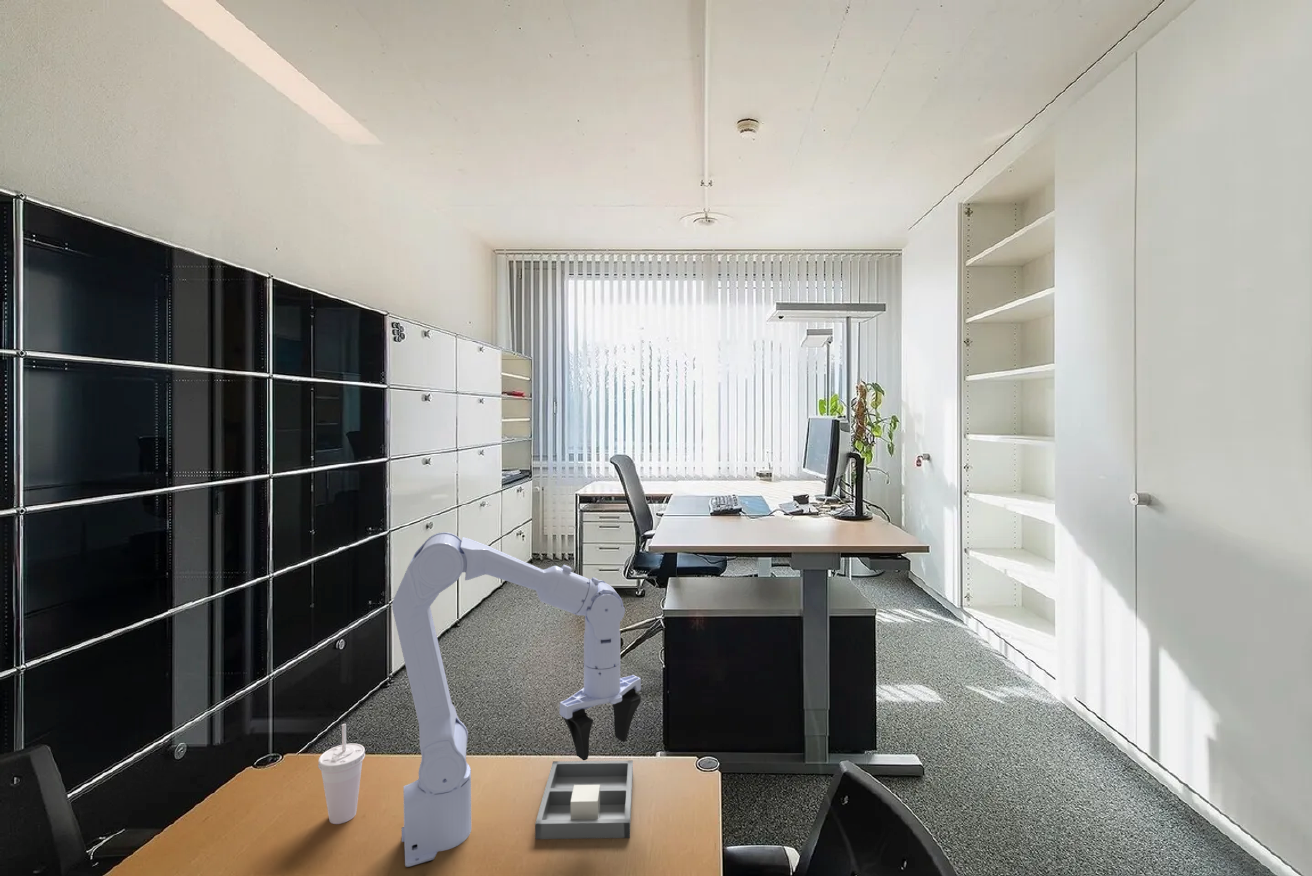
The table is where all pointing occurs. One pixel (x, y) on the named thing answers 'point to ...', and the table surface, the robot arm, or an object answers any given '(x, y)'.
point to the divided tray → (612, 800)
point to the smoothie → (342, 779)
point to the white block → (585, 802)
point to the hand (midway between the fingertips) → (602, 747)
